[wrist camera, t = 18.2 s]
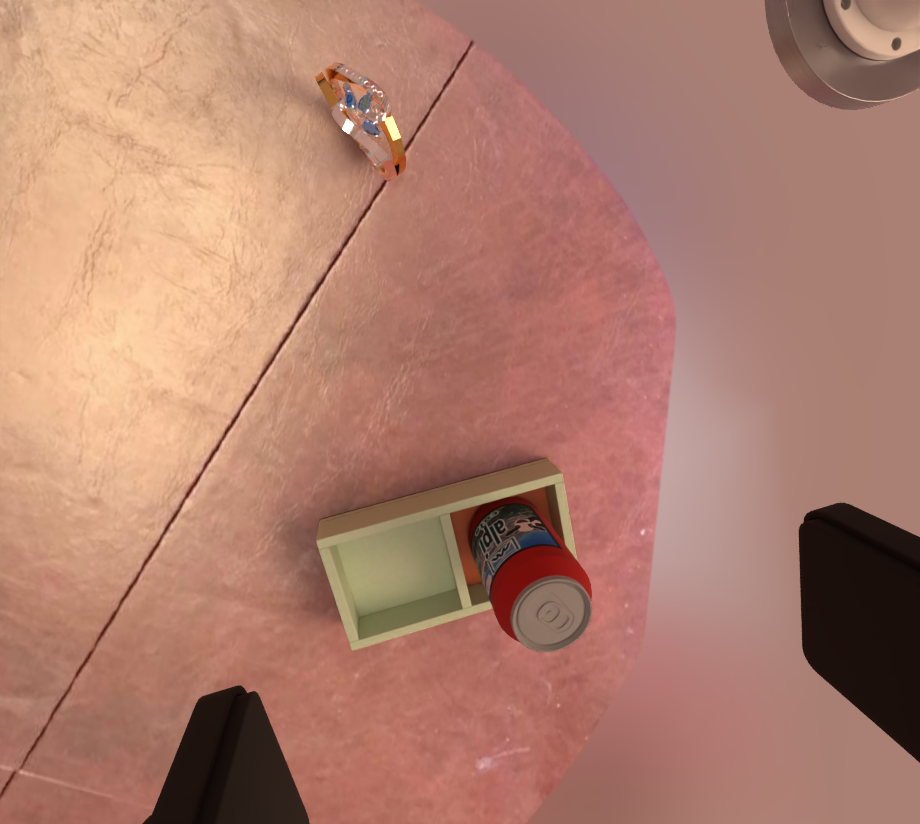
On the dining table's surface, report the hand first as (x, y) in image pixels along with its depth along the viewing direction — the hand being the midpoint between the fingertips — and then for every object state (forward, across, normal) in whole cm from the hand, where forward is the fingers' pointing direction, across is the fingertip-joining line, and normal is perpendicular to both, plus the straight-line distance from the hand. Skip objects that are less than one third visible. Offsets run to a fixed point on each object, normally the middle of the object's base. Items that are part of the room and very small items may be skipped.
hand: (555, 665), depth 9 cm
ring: (+34, -1, -16) cm, 37 cm away
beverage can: (+33, -5, +16) cm, 37 cm away
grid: (+33, 0, +16) cm, 37 cm away
